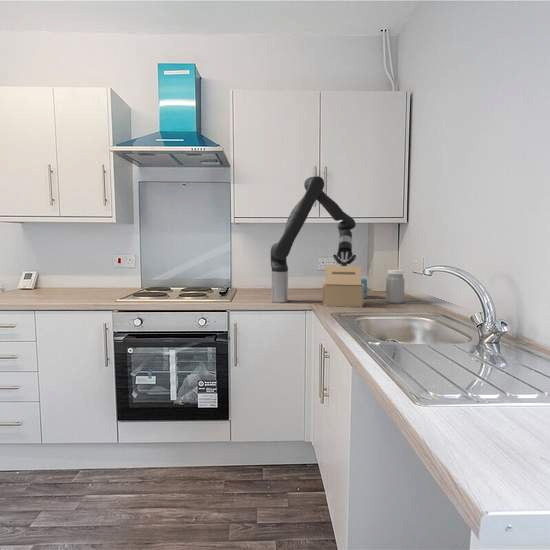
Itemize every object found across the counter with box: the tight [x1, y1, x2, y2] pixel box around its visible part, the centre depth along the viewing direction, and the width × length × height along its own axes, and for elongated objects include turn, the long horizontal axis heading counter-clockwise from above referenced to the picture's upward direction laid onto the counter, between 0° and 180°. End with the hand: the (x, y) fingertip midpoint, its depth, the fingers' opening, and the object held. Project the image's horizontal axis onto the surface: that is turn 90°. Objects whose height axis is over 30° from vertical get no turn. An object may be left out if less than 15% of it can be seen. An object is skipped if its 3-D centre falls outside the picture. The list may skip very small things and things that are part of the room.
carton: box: [322, 282, 365, 308], centre depth 214 cm, size 21×15×11 cm
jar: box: [385, 269, 406, 304], centre depth 220 cm, size 10×10×18 cm
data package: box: [361, 277, 368, 299], centre depth 238 cm, size 12×4×12 cm, turn 22°
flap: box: [324, 265, 363, 285], centre depth 208 cm, size 19×1×10 cm, turn 77°
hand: (343, 268), depth 213 cm, fingers closed
